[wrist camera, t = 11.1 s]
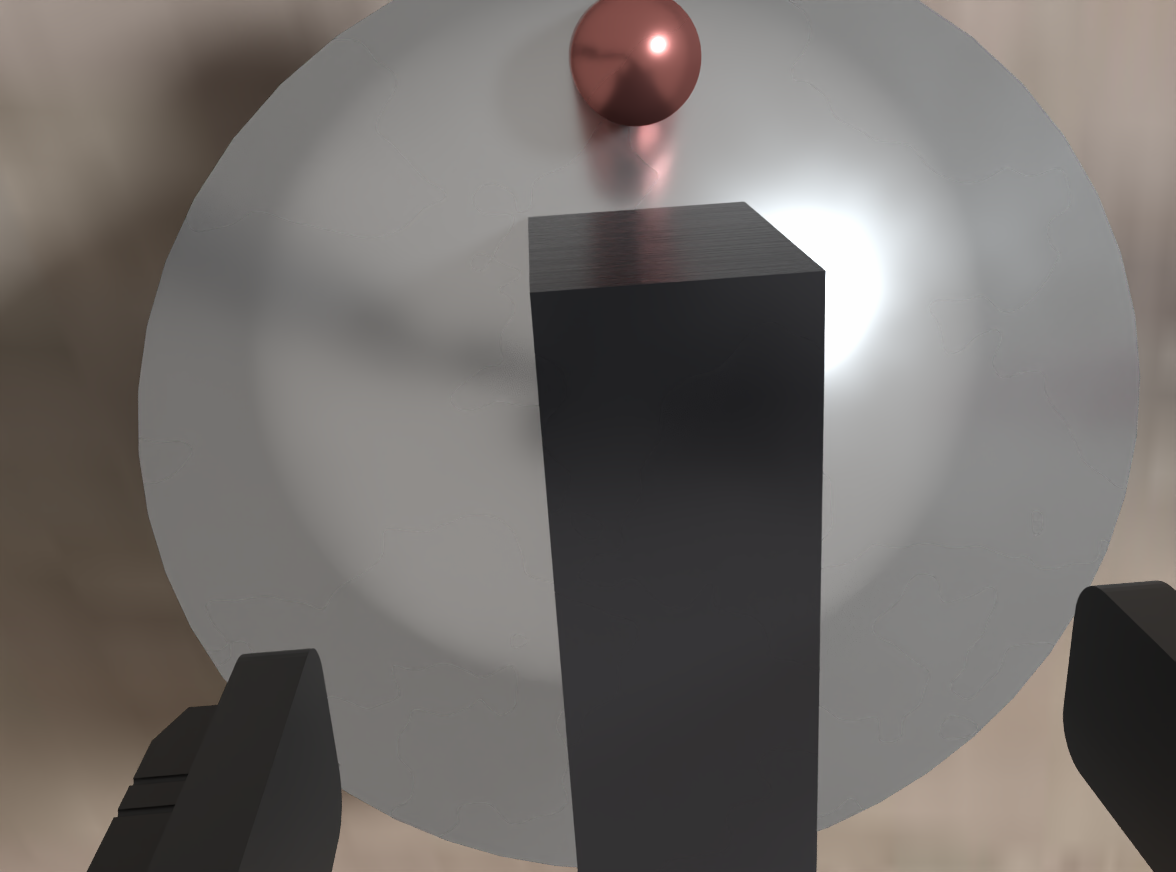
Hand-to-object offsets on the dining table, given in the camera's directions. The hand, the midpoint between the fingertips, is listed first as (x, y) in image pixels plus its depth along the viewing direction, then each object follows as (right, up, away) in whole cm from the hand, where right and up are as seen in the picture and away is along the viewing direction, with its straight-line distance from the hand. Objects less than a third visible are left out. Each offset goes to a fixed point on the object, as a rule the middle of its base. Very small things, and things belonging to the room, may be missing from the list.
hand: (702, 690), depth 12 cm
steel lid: (0, +3, +6) cm, 7 cm away
